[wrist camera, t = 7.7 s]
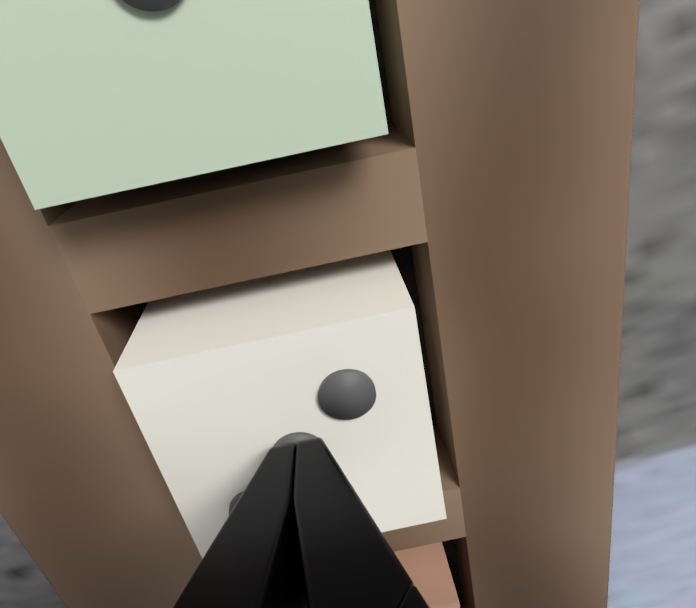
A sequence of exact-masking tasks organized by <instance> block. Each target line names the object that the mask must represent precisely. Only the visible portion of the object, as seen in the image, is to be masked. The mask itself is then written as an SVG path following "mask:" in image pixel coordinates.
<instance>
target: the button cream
mask: <svg viewBox="0 0 696 608" xmlns="http://www.w3.org/2000/svg"><path fill="white" fill-rule="evenodd" d="M113 373H114V375H115V377H116V379H117V381H118V383H119V385H120V388H121V390H122V392H123V394H124V396H125V398H126V400H127V402H128V404H129V406H130V408H131V411H132V413H133V415H134V417H135V419H136V421H137V423H138V425H139V427H140V429H141V431H142V434H143V436H144V438H145V440H146V442H147V444H148V446H149V448H150V450H151V452H152V454H153V457H154V459H155V461H156V463H157V465H158V467H159V469H160V471H161V473H162V475H163V477H164V480H165V482H166V484H167V486H168V488H169V490H170V492H171V494H172V496H173V498H174V500H175V503H176V505H177V507H178V509H179V511H180V513H181V515H182V517H183V519H184V521H185V523H186V526H187V528H188V530H189V532H190V534H191V536H192V538H193V540H194V542H195V544H196V546H197V548H198V551H199V553H200V555H201V557H202V559H203V557H204V556H205V554H206V552H207V551H208V549H209V547H210V546H211V544H212V542H213V541H214V539H215V538H216V536H217V534H218V533H219V531H220V529H221V528H222V526H223V524H224V523H225V521H226V519H227V518H228V516H229V515H230V513H231V511H232V510H233V508H234V506H235V505H236V503H237V501H238V500H239V498H240V496H241V495H242V493H243V492H244V490H245V488H246V487H247V485H248V483H249V482H250V480H251V478H252V477H253V475H254V473H255V472H256V470H257V469H258V467H259V465H260V464H261V462H262V460H263V459H264V457H265V455H266V454H267V452H268V451H269V449H270V448H272V447H274V446H278V445H283V444H288V443H294V444H296V445H297V443H298V442H299V441H302V440H307V439H312V438H316V437H320V438H322V439H323V441H324V442H325V444H326V445H327V447H328V448H329V450H330V452H331V453H332V455H333V456H334V458H335V460H336V461H337V463H338V464H339V466H340V467H341V469H342V471H343V472H344V474H345V475H346V477H347V479H348V480H349V482H350V483H351V485H352V486H353V488H354V490H355V491H356V493H357V494H358V496H359V498H360V499H361V501H362V502H363V504H364V505H365V507H366V509H367V510H368V512H369V513H370V515H371V517H372V518H373V520H374V521H375V523H376V524H377V526H378V528H379V529H380V531H381V532H386V531H391V530H395V529H400V528H405V527H410V526H414V525H419V524H424V523H429V522H433V521H438V520H443V519H447V517H446V510H445V504H444V497H443V491H442V484H441V477H440V471H439V464H438V458H437V451H436V444H435V438H434V431H433V425H432V418H431V411H430V405H429V398H428V392H427V385H426V378H425V372H424V365H423V359H422V352H421V345H420V339H419V332H418V325H417V319H416V312H415V307H414V304H413V302H412V300H411V297H410V295H409V293H408V291H407V288H406V286H405V284H404V281H403V279H402V277H401V274H400V272H399V270H398V267H397V265H396V263H395V260H394V258H393V256H392V253H391V251H390V250H388V251H383V252H378V253H374V254H369V255H364V256H360V257H355V258H350V259H345V260H341V261H336V262H331V263H327V264H322V265H317V266H313V267H308V268H303V269H299V270H294V271H289V272H285V273H280V274H275V275H270V276H266V277H261V278H256V279H252V280H247V281H242V282H238V283H233V284H228V285H224V286H219V287H214V288H210V289H205V290H200V291H195V292H191V293H186V294H181V295H177V296H172V297H167V298H163V299H158V300H153V301H149V302H148V303H147V305H146V307H145V309H144V311H143V313H142V315H141V317H140V319H139V321H138V323H137V325H136V327H135V329H134V331H133V333H132V335H131V337H130V339H129V341H128V343H127V345H126V347H125V349H124V351H123V353H122V354H121V356H120V358H119V360H118V362H117V364H116V366H115V368H114V370H113Z"/></svg>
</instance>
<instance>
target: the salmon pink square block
mask: <svg viewBox="0 0 696 608" xmlns="http://www.w3.org/2000/svg"><path fill="white" fill-rule="evenodd" d="M394 553H395V554H396V556H397V558H398V559H399V561H400V562H401V564H402V566H403V567H404V569H405V570H406V572H407V573H408V575H409V577H410V578H411V580H412V581H413V584H414V586H416V587H417V589H418V590H419V592H420V593H421V595H422V597H423V598H424V600H425V601H426V603H427V604H428V606H429V608H460V603H459V599H458V596H457V592H456V589H455V585H454V582H453V578H452V575H451V571H450V568H449V565H448V561H447V558H446V554H445V551H444V547H443V544H442V542H438V543H433V544H429V545H424V546H419V547H414V548H410V549H405V550H400V551H395V552H394Z"/></svg>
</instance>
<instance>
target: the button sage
mask: <svg viewBox="0 0 696 608" xmlns="http://www.w3.org/2000/svg"><path fill="white" fill-rule="evenodd" d="M386 134H389V133H388V126H387V120H386V113H385V107H384V100H383V93H382V87H381V80H380V74H379V67H378V60H377V54H376V47H375V40H374V34H373V27H372V21H371V14H370V7H369V1H368V0H0V138H1V140H2V142H3V144H4V146H5V148H6V151H7V153H8V155H9V157H10V159H11V161H12V163H13V165H14V167H15V169H16V171H17V174H18V176H19V178H20V180H21V182H22V184H23V186H24V188H25V190H26V192H27V194H28V197H29V199H30V201H31V203H32V205H33V207H34V209H35V210H37V209H42V208H46V207H51V206H56V205H60V204H65V203H70V202H74V201H79V200H84V199H88V198H93V197H97V196H102V195H107V194H111V193H116V192H121V191H125V190H130V189H135V188H139V187H144V186H149V185H153V184H158V183H163V182H167V181H172V180H177V179H181V178H186V177H191V176H195V175H200V174H205V173H209V172H214V171H219V170H223V169H228V168H233V167H237V166H242V165H247V164H251V163H256V162H260V161H265V160H270V159H274V158H279V157H284V156H288V155H293V154H298V153H302V152H307V151H312V150H316V149H321V148H326V147H330V146H335V145H340V144H344V143H349V142H354V141H358V140H363V139H368V138H372V137H377V136H382V135H386Z"/></svg>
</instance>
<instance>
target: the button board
mask: <svg viewBox="0 0 696 608" xmlns="http://www.w3.org/2000/svg"><path fill="white" fill-rule="evenodd" d="M639 2H640V0H375V5H376V11H377V18H378V25H379V32H380V39H381V46H382V52H383V59H384V66H385V73H386V80H387V87H388V93H389V100H390V107H391V114H392V121H393V125H389V126H388V133H389V134H386V135H382V136H377V137H372V138H368V139H363V140H358V141H354V142H349V143H344V144H340V145H335V146H330V147H326V148H321V149H316V150H312V151H307V152H302V153H298V154H293V155H288V156H284V157H279V158H274V159H270V160H265V161H260V162H256V163H251V164H247V165H242V166H237V167H233V168H228V169H223V170H219V171H214V172H209V173H205V174H200V175H195V176H191V177H186V178H181V179H177V180H172V181H167V182H163V183H158V184H153V185H149V186H144V187H139V188H135V189H130V190H125V191H121V192H116V193H111V194H107V195H102V196H97V197H93V198H88V199H84V200H79V201H74V202H70V203H65V204H60V205H56V206H51V207H46V208H42V209H37V210H35V209H34V207H33V205H32V203H31V201H30V199H29V197H28V194H27V192H26V190H25V188H24V186H23V184H22V182H21V180H20V178H19V176H18V174H17V171H16V169H15V167H14V165H13V163H12V161H11V159H10V157H9V155H8V153H7V151H6V148H5V146H4V144H3V142H2V140H1V138H0V513H1V514H2V516H3V517H4V518H5V520H6V521H7V523H8V524H9V526H10V527H11V528H12V530H13V531H14V533H15V534H16V536H17V537H18V538H19V540H20V541H21V543H22V544H23V546H24V547H25V548H26V550H27V551H28V553H29V554H30V556H31V557H32V558H33V560H34V561H35V563H36V564H37V566H38V567H39V568H40V570H41V571H42V573H43V574H44V576H45V577H46V578H47V580H48V581H49V583H50V584H51V586H52V587H53V588H54V590H55V591H56V593H57V594H58V596H59V597H60V598H61V600H62V601H63V603H64V604H65V606H66V607H67V608H173V606H174V605H175V603H176V602H177V600H178V598H179V597H180V595H181V593H182V592H183V590H184V588H185V587H186V585H187V584H188V582H189V580H190V579H191V577H192V575H193V574H194V572H195V570H196V569H197V567H198V565H199V564H200V562H201V561H202V557H201V555H200V553H199V551H198V548H197V546H196V544H195V542H194V540H193V538H192V536H191V534H190V532H189V530H188V528H187V526H186V523H185V521H184V519H183V517H182V515H181V513H180V511H179V509H178V507H177V505H176V503H175V500H174V498H173V496H172V494H171V492H170V490H169V488H168V486H167V484H166V482H165V480H164V477H163V475H162V473H161V471H160V469H159V467H158V465H157V463H156V461H155V459H154V457H153V454H152V452H151V450H150V448H149V446H148V444H147V442H146V440H145V438H144V436H143V434H142V431H141V429H140V427H139V425H138V423H137V421H136V419H135V417H134V415H133V413H132V411H131V408H130V406H129V404H128V402H127V400H126V398H125V396H124V394H123V392H122V390H121V388H120V385H119V383H118V381H117V379H116V377H115V375H114V373H113V370H114V368H115V366H116V364H117V362H118V360H119V358H120V356H121V354H122V353H123V351H124V349H125V347H126V345H127V343H128V341H129V339H130V337H131V335H132V333H133V331H134V329H135V327H136V325H137V323H138V321H139V319H140V317H141V315H142V313H143V310H142V307H141V305H140V303H144V302H149V301H153V300H158V299H163V298H167V297H172V296H177V295H181V294H186V293H191V292H195V291H200V290H205V289H210V288H214V287H219V286H224V285H228V284H233V283H238V282H242V281H247V280H252V279H256V278H261V277H266V276H270V275H275V274H280V273H285V272H289V271H294V270H299V269H303V268H308V267H313V266H317V265H322V264H327V263H331V262H336V261H341V260H345V259H350V258H355V257H360V256H364V255H369V254H374V253H378V252H383V251H388V250H392V249H397V248H402V247H406V246H411V250H412V257H413V264H414V271H415V278H416V285H417V291H418V298H419V305H420V312H421V319H422V326H423V332H424V339H425V346H426V353H427V360H428V367H429V373H430V380H431V387H432V394H433V401H434V408H435V414H436V421H437V425H433V431H434V438H435V444H436V451H437V458H438V464H439V471H440V477H441V484H442V491H443V497H444V504H445V510H446V517H447V519H443V520H438V521H433V522H429V523H424V524H419V525H414V526H410V527H405V528H400V529H395V530H391V531H386V532H382V534H383V535H384V537H385V539H386V540H387V542H388V543H389V545H390V547H391V548H392V550H393V551H394V552H395V551H400V550H405V549H410V548H414V547H419V546H424V545H429V544H433V543H438V542H443V541H448V540H453V539H454V544H455V551H456V558H457V565H458V572H459V578H460V585H461V592H462V599H463V605H460V608H607V599H608V581H609V562H610V543H611V525H612V506H613V487H614V469H615V450H616V431H617V413H618V394H619V375H620V357H621V338H622V319H623V301H624V282H625V263H626V245H627V226H628V207H629V188H630V170H631V151H632V132H633V114H634V95H635V76H636V58H637V39H638V20H639Z"/></svg>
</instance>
